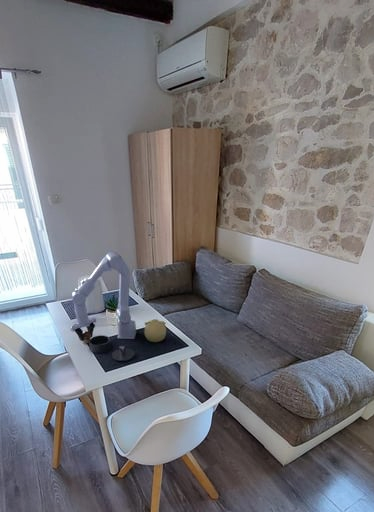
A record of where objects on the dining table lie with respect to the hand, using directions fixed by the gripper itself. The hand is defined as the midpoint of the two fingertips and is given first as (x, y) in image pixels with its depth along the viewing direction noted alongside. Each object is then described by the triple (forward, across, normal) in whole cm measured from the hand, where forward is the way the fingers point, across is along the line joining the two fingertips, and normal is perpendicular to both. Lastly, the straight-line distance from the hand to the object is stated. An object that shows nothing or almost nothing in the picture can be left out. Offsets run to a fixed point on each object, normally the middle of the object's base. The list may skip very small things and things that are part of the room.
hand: (86, 338), depth 163 cm
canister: (+2, +29, +32) cm, 43 cm away
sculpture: (+2, +26, -26) cm, 36 cm away
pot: (+2, +1, -11) cm, 11 cm away
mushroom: (+2, 0, 0) cm, 2 cm away
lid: (+1, +3, -25) cm, 26 cm away
